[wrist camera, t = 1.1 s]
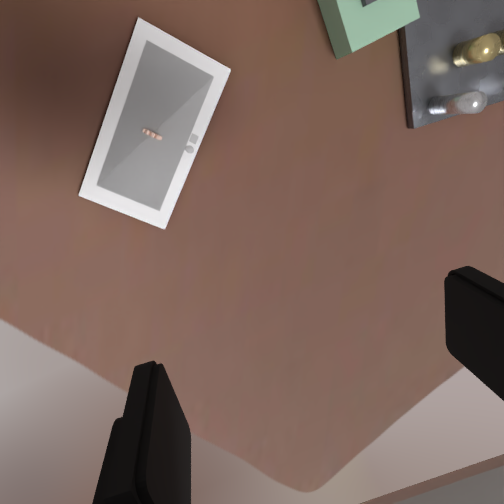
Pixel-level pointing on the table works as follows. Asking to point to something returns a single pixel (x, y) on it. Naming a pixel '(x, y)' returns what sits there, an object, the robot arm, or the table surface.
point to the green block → (364, 21)
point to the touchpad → (153, 125)
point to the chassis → (452, 59)
